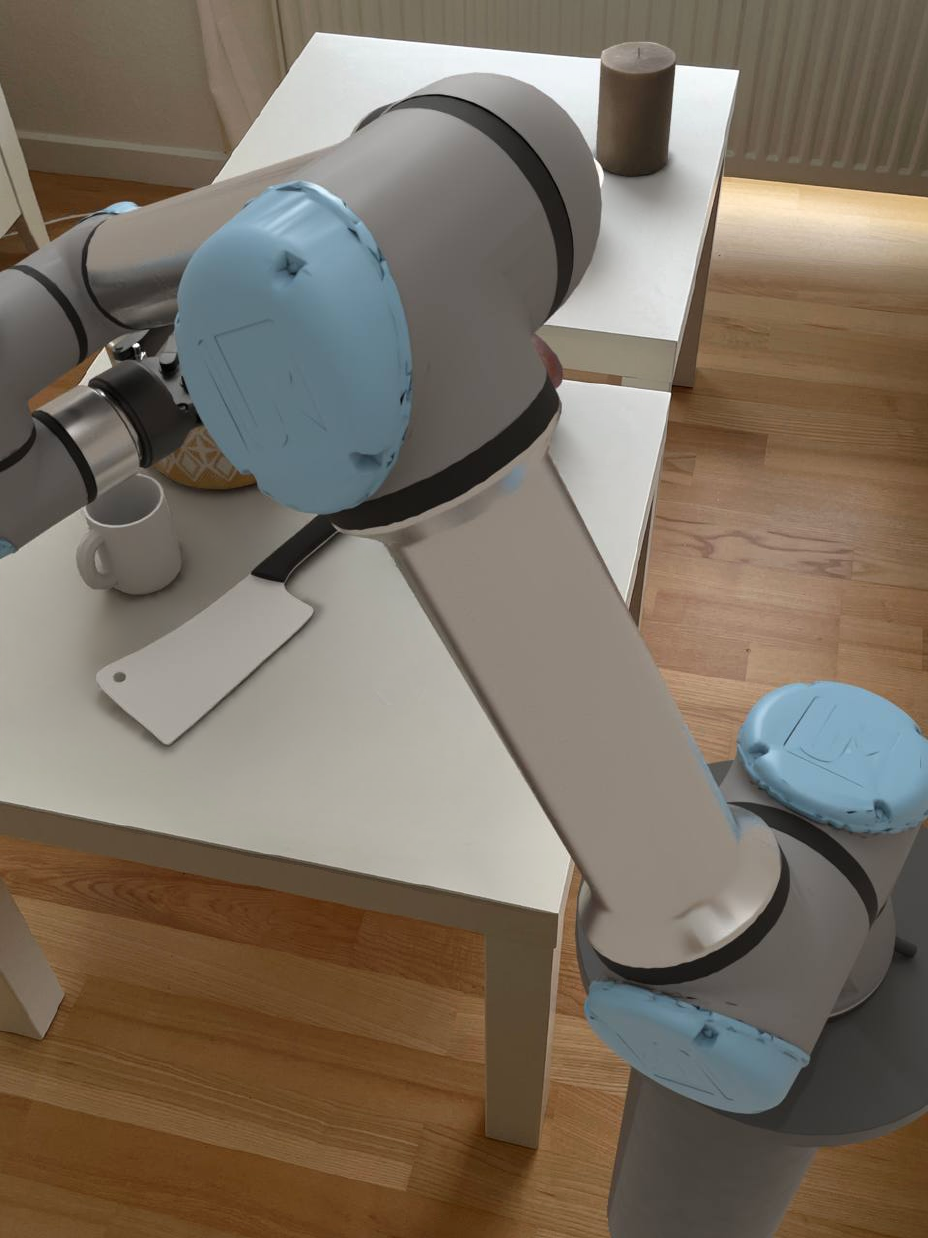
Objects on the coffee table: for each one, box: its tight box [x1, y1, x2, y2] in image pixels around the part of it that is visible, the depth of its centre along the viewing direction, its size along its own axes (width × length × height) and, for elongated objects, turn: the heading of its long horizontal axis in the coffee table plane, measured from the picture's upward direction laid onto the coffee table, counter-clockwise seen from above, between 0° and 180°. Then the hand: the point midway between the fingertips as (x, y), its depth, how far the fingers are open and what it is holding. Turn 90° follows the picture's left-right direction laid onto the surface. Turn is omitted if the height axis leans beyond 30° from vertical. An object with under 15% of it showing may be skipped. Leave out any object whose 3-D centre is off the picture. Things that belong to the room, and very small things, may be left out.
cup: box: [75, 473, 183, 596], centre depth 114 cm, size 7×10×9 cm
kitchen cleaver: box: [95, 514, 340, 746], centre depth 114 cm, size 31×2×10 cm
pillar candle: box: [595, 41, 677, 177], centre depth 163 cm, size 10×10×15 cm
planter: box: [104, 333, 257, 490], centre depth 125 cm, size 19×19×16 cm
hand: (326, 301), depth 102 cm, fingers open, 13 cm apart
